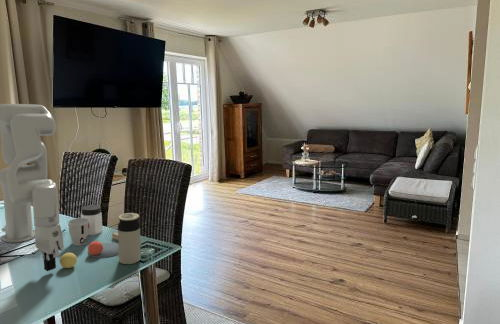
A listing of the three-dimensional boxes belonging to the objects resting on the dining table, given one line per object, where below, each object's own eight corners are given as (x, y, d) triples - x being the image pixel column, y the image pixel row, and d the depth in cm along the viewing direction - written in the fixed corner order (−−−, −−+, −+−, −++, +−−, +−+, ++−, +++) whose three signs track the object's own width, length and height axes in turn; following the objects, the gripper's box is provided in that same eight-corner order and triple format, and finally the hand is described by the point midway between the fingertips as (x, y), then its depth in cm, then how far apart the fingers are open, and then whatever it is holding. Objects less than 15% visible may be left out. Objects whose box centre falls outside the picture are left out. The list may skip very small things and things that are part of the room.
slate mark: (102, 261, 132) (102, 260, 132) (80, 252, 139) (80, 251, 139) (131, 248, 144) (131, 248, 144) (110, 240, 151) (110, 240, 151)
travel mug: (120, 266, 129) (118, 220, 126) (118, 257, 136) (116, 213, 133) (142, 262, 132) (141, 218, 129) (139, 254, 139) (138, 211, 136)
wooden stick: (137, 247, 145) (137, 242, 145) (112, 238, 153) (112, 233, 153) (141, 246, 147) (140, 240, 146) (116, 237, 155) (116, 232, 154)
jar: (79, 236, 155) (78, 210, 153) (83, 229, 163) (82, 205, 161) (100, 235, 157) (99, 209, 155) (103, 228, 165) (103, 204, 163)
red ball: (94, 236, 138) (101, 244, 142) (82, 246, 136) (90, 254, 139) (100, 241, 135) (107, 250, 138) (88, 252, 132) (96, 260, 136)
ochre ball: (74, 247, 128) (76, 259, 131) (57, 252, 126) (60, 264, 128) (76, 256, 124) (79, 268, 126) (59, 261, 121) (62, 273, 124)
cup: (81, 248, 143) (80, 225, 141) (64, 245, 144) (63, 223, 142) (94, 240, 150) (93, 218, 149) (78, 238, 152) (76, 217, 150)
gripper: (70, 221, 118) (72, 270, 121) (45, 212, 126) (49, 259, 129) (47, 227, 112) (51, 279, 115) (23, 218, 119) (27, 267, 122)
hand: (50, 269), depth 122 cm, fingers closed
